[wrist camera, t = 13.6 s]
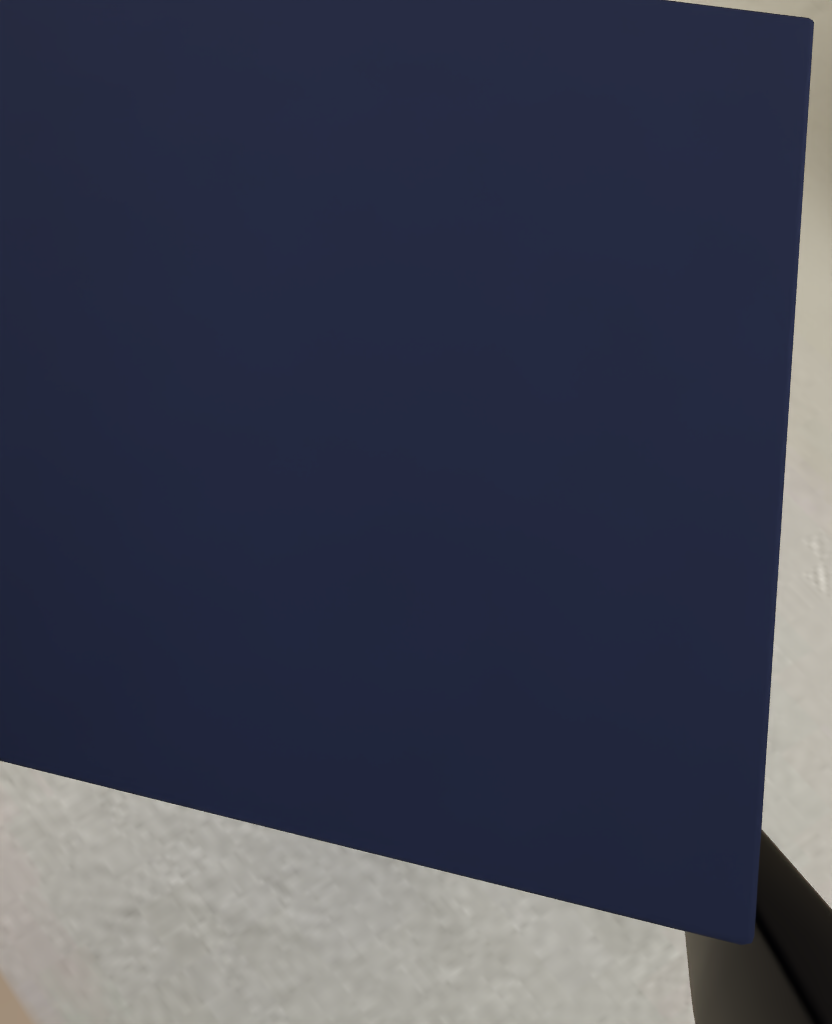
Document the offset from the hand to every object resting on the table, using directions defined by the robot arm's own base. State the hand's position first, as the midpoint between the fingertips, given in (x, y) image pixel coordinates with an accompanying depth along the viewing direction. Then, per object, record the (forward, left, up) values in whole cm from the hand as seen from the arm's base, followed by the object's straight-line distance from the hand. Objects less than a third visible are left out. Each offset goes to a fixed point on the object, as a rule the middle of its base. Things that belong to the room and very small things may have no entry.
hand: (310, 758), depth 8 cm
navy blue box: (+5, +4, -8) cm, 10 cm away
